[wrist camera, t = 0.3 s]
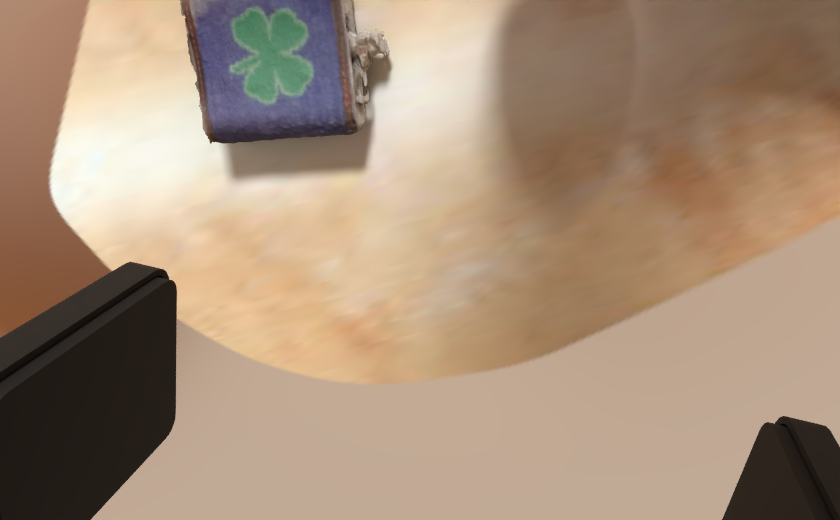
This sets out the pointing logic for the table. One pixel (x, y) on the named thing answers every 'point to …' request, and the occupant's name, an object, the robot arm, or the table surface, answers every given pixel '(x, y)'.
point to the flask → (279, 67)
